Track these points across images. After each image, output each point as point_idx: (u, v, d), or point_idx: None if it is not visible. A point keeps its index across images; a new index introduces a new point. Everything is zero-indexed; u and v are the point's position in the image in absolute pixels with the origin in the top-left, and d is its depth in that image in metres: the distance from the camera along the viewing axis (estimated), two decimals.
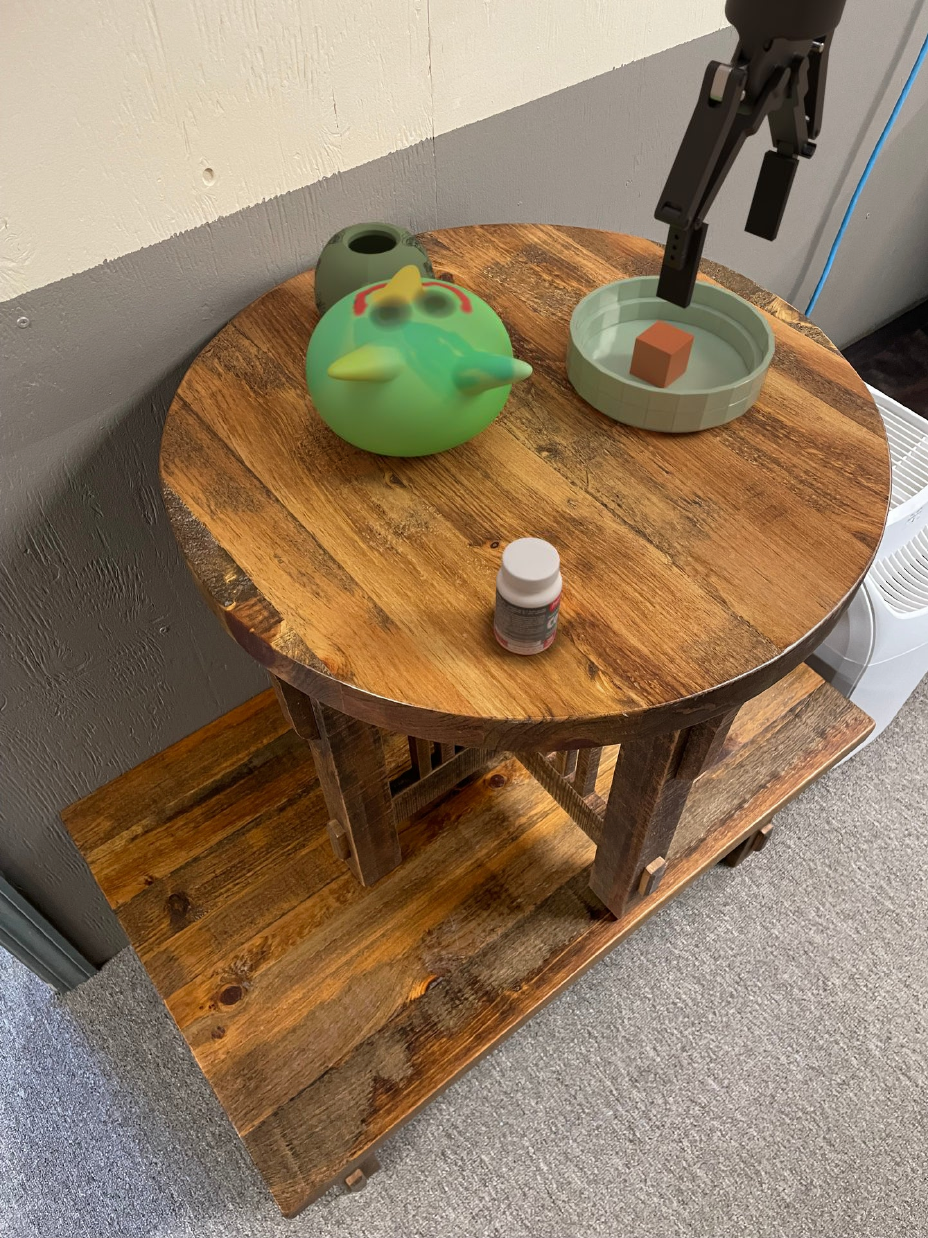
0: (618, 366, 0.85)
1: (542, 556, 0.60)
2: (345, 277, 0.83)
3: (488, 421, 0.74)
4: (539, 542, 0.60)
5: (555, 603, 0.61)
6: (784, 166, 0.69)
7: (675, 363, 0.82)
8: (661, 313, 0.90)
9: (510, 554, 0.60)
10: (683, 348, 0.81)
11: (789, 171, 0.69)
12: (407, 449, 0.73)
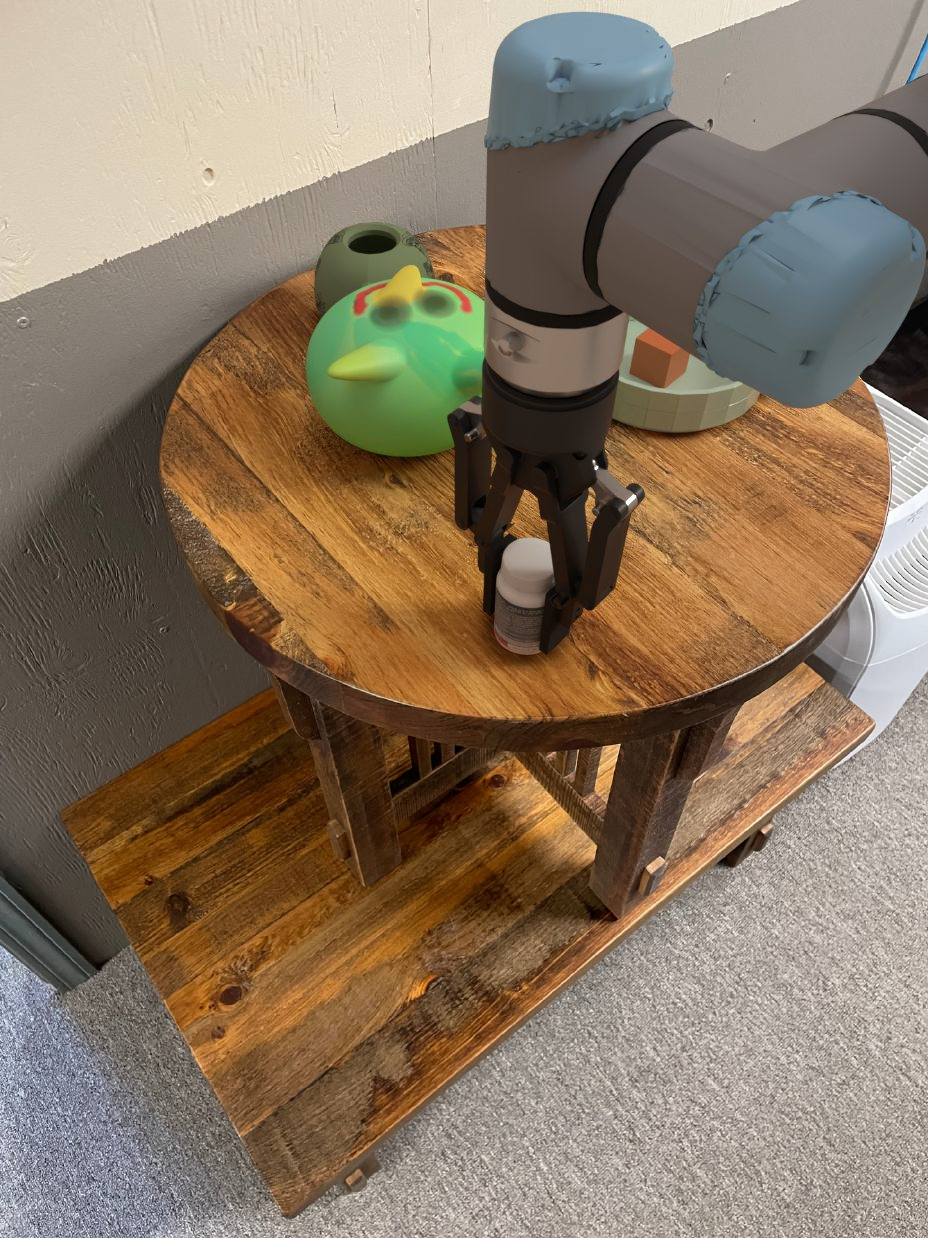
0: None
1: (542, 556, 0.60)
2: (345, 277, 0.83)
3: None
4: (539, 542, 0.60)
5: None
6: None
7: (675, 363, 0.82)
8: None
9: (510, 554, 0.60)
10: None
11: None
12: (407, 449, 0.73)
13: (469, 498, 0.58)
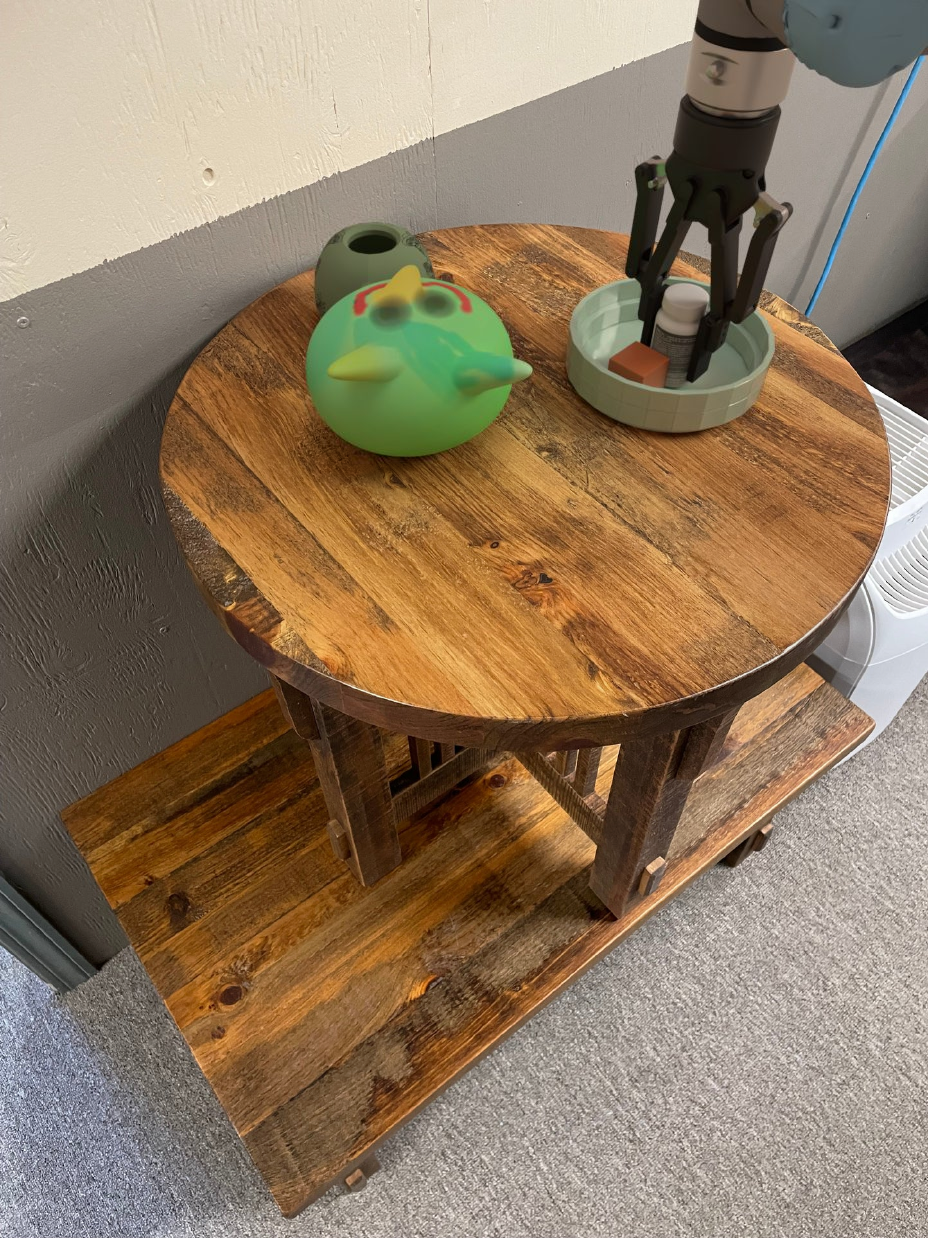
0: None
1: (695, 294, 0.77)
2: (345, 277, 0.83)
3: (488, 421, 0.74)
4: (691, 285, 0.78)
5: None
6: None
7: (649, 385, 0.80)
8: None
9: (670, 292, 0.77)
10: (658, 370, 0.79)
11: None
12: (407, 449, 0.73)
13: (642, 245, 0.76)
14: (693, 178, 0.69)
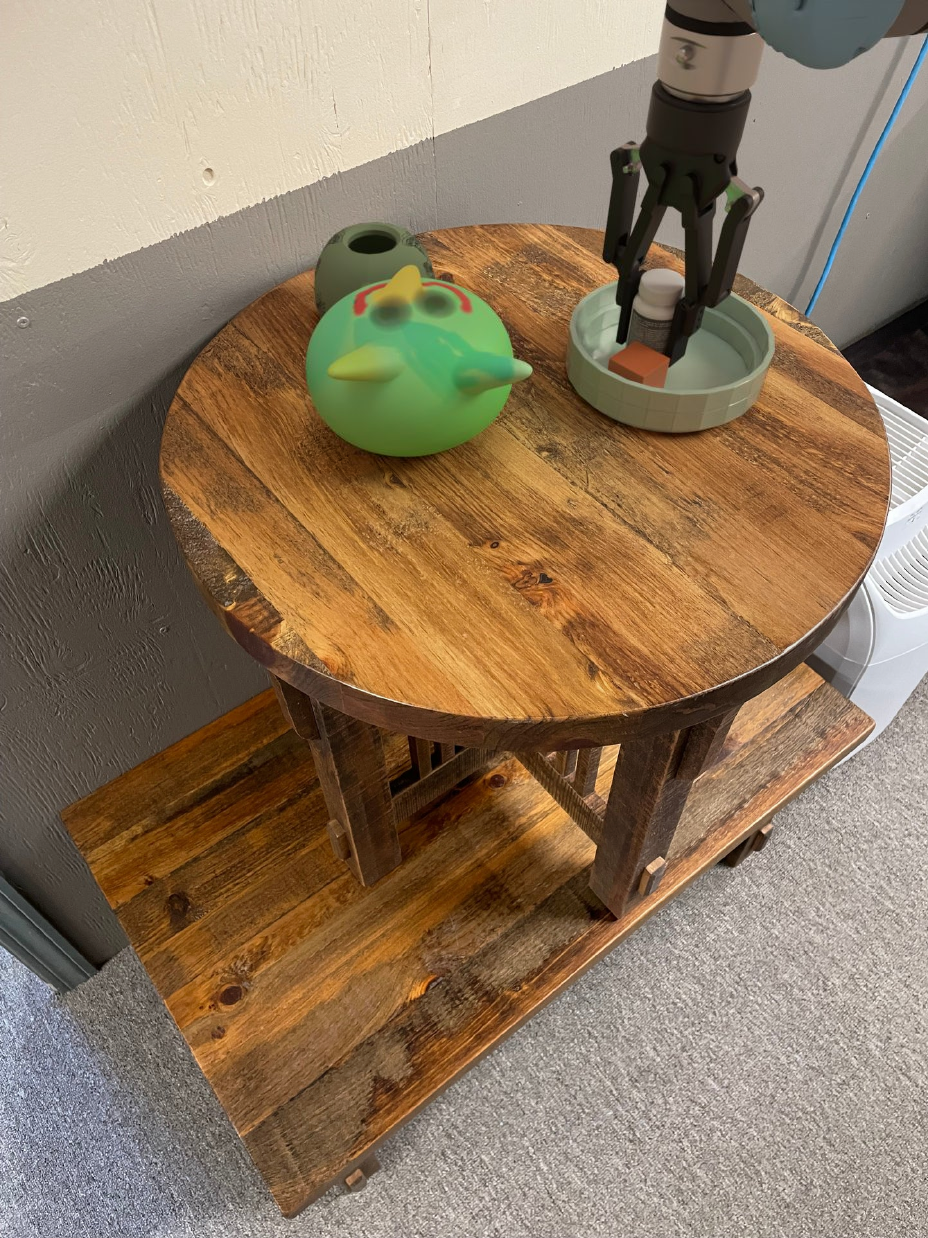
0: None
1: (671, 279, 0.78)
2: (345, 277, 0.83)
3: (488, 421, 0.74)
4: (668, 271, 0.79)
5: None
6: None
7: (649, 385, 0.80)
8: None
9: (647, 277, 0.78)
10: (658, 370, 0.79)
11: None
12: (407, 449, 0.73)
13: (618, 230, 0.77)
14: (666, 163, 0.70)
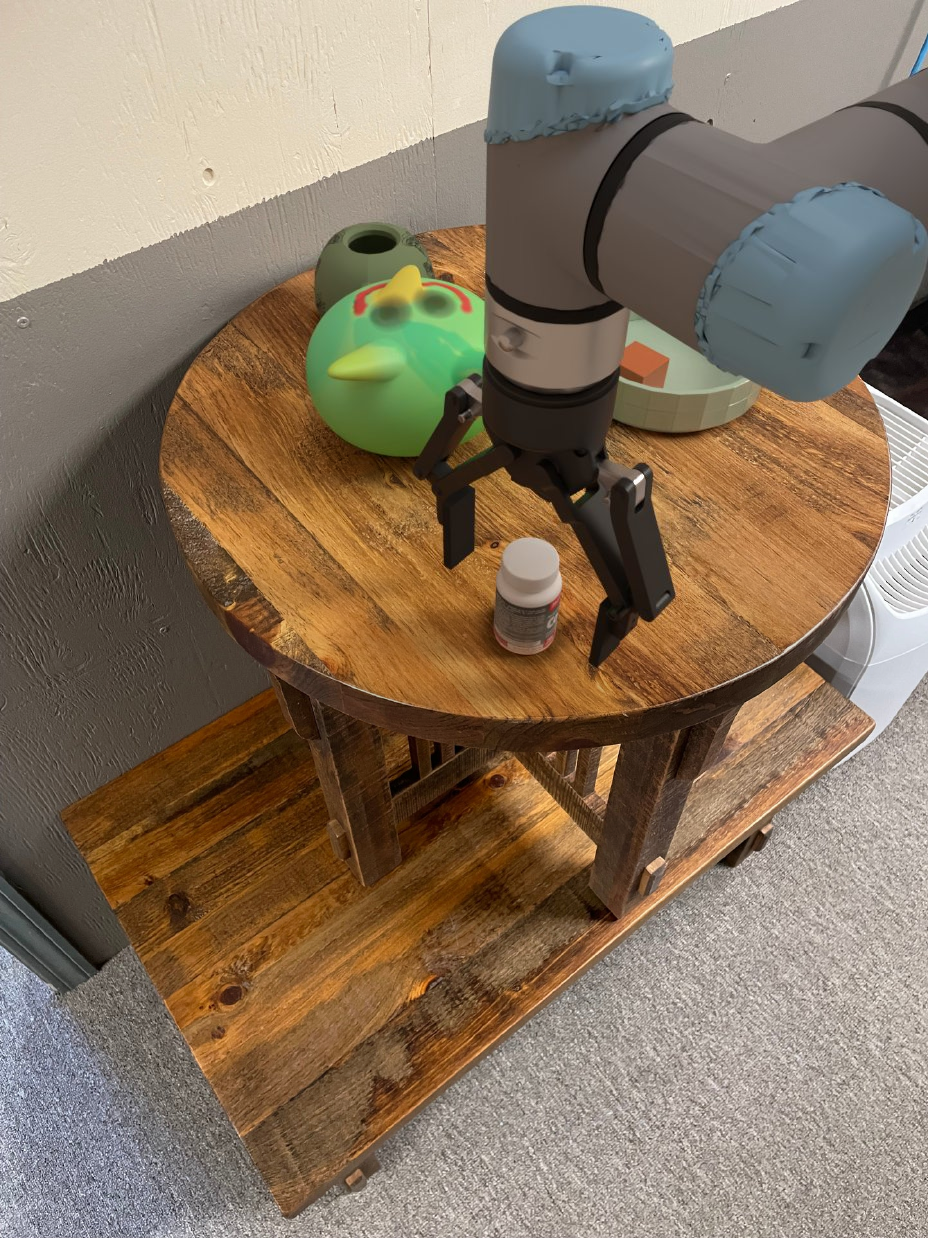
0: None
1: (541, 556, 0.60)
2: (345, 277, 0.83)
3: None
4: (539, 542, 0.60)
5: (554, 603, 0.61)
6: (468, 499, 0.61)
7: (649, 385, 0.80)
8: None
9: (509, 554, 0.60)
10: (658, 370, 0.79)
11: (472, 497, 0.62)
12: (407, 449, 0.73)
13: (437, 459, 0.58)
14: None
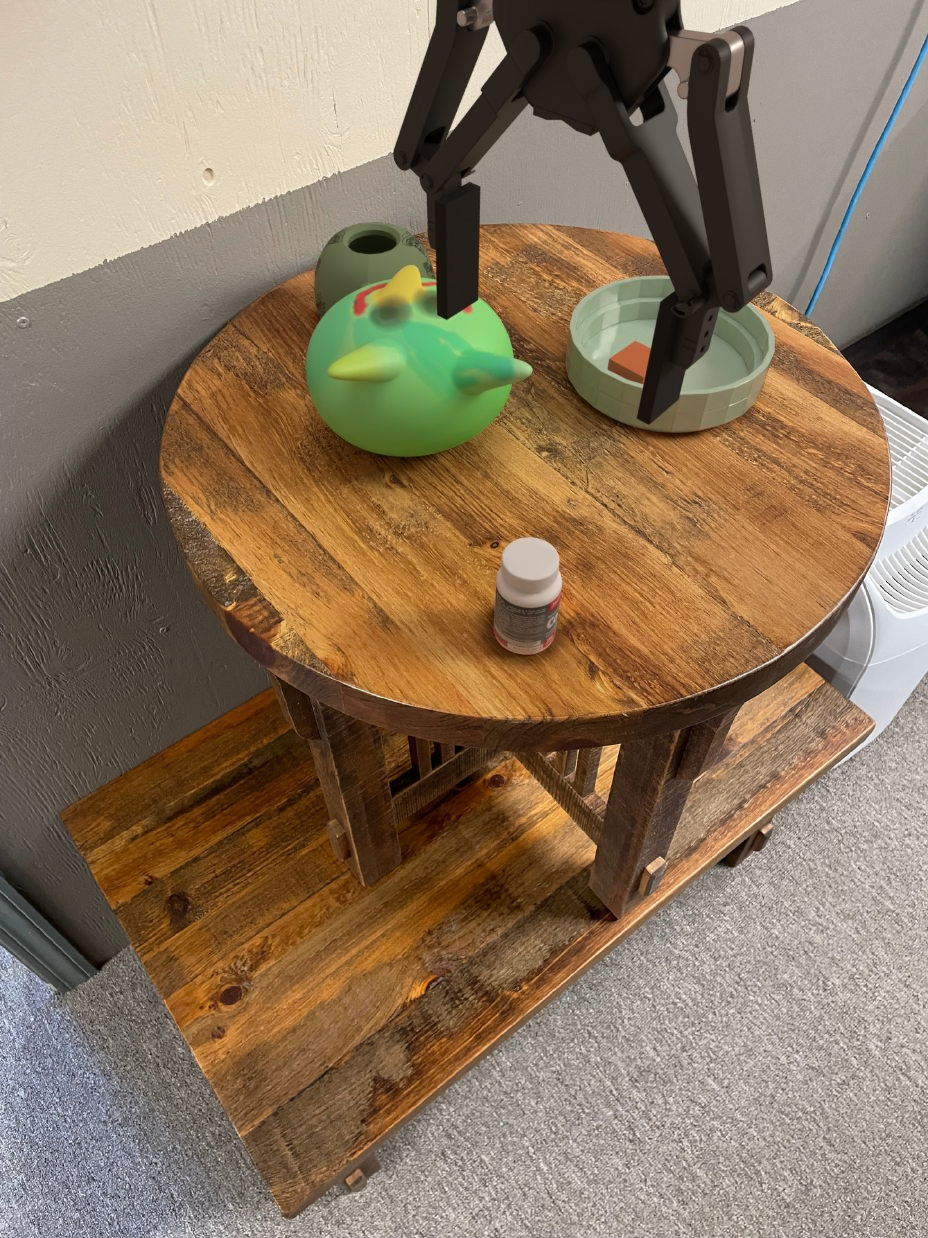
0: None
1: (541, 556, 0.60)
2: (345, 277, 0.83)
3: (488, 421, 0.74)
4: (539, 542, 0.60)
5: (554, 603, 0.61)
6: (470, 201, 0.45)
7: None
8: None
9: (509, 553, 0.60)
10: None
11: (476, 202, 0.45)
12: (407, 449, 0.73)
13: (427, 122, 0.41)
14: (547, 30, 0.34)
